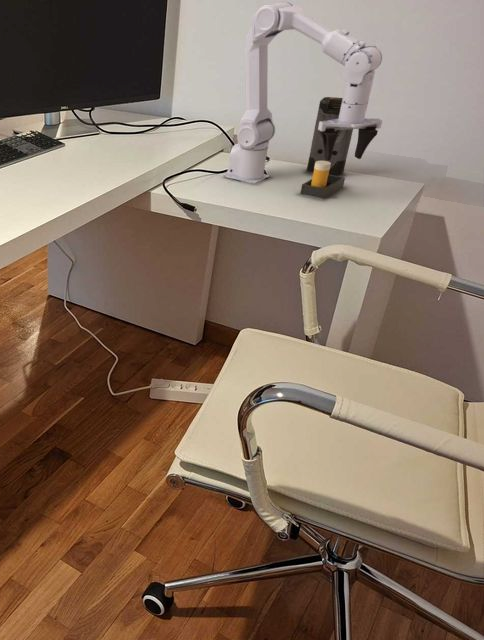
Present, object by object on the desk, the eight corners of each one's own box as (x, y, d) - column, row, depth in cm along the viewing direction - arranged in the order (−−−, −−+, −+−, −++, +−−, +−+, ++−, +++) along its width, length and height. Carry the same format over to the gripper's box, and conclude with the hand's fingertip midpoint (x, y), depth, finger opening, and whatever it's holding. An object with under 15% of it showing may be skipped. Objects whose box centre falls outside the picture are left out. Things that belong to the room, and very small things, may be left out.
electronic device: (304, 174, 188) (318, 101, 177) (309, 168, 192) (323, 96, 181) (340, 178, 184) (356, 103, 173) (344, 172, 188) (360, 98, 177)
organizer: (299, 194, 175) (302, 184, 173) (320, 183, 181) (322, 173, 180) (322, 200, 171) (324, 189, 169) (342, 188, 177) (345, 177, 176)
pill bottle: (306, 193, 174) (312, 163, 170) (313, 189, 176) (319, 159, 172) (320, 196, 172) (326, 165, 168) (327, 192, 174) (333, 162, 170)
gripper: (331, 107, 156) (319, 164, 163) (393, 104, 156) (378, 161, 163) (319, 100, 162) (308, 156, 169) (379, 97, 162) (365, 153, 169)
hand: (342, 158), depth 166 cm, fingers open, 7 cm apart
